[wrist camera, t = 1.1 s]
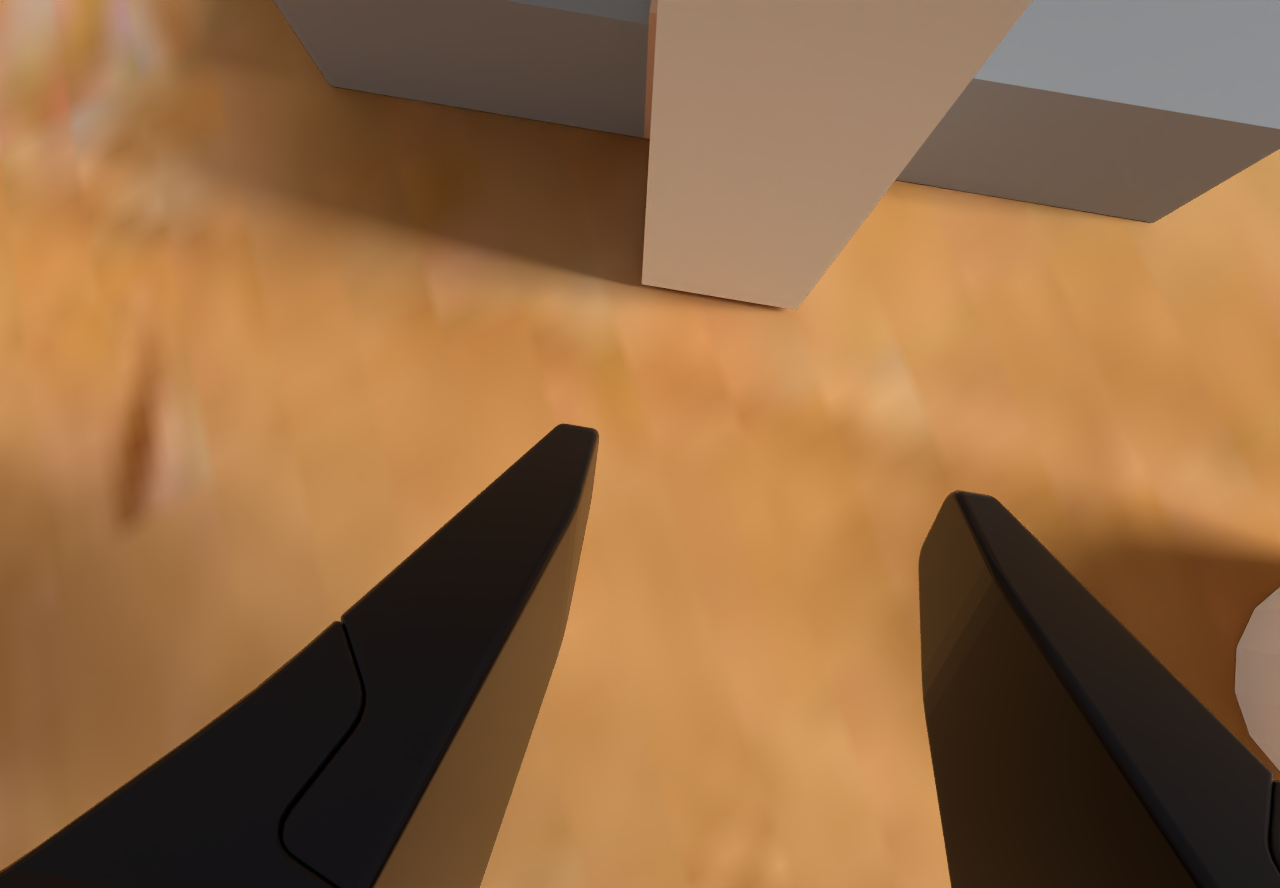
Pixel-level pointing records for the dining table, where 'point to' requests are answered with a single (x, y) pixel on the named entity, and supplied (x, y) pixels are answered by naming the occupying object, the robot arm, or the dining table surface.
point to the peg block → (792, 129)
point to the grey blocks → (955, 150)
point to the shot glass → (1261, 676)
